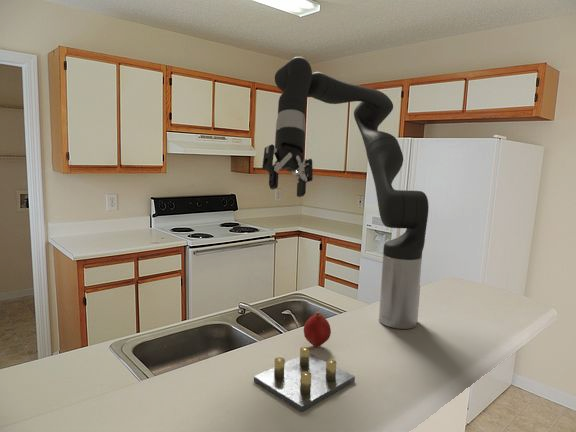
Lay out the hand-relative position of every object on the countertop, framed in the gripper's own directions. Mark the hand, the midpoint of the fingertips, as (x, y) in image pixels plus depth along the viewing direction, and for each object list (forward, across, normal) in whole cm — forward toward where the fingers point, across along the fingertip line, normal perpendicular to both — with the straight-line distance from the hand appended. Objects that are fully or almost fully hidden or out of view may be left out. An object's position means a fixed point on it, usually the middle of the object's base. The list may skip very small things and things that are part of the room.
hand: (287, 192), depth 101 cm
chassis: (+41, +7, +16) cm, 45 cm away
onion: (+36, -4, +8) cm, 37 cm away
